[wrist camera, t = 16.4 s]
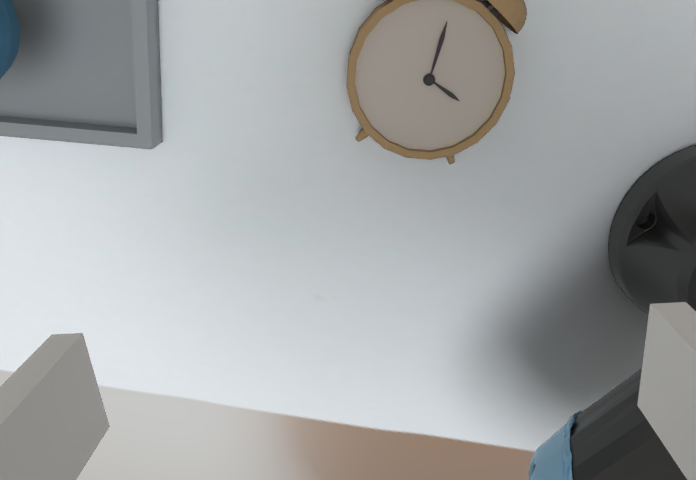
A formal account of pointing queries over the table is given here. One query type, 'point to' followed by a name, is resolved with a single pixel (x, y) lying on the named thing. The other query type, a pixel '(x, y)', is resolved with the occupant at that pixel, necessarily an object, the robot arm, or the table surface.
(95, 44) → the tray
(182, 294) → the table surface
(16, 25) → the light bulb
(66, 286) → the table surface
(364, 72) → the alarm clock
